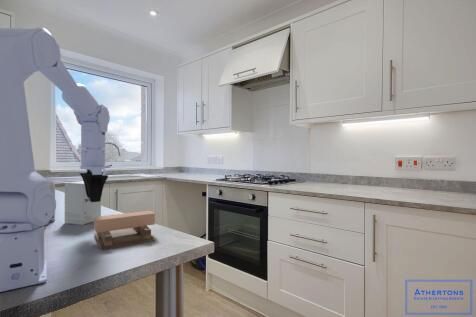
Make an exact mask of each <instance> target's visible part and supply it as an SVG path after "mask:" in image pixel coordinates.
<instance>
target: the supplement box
mask: <svg viewBox="0 0 476 317" xmlns="http://www.w3.org/2000/svg"><path fill="white" fill-rule="evenodd" d="M101 212H102V199H101V200H100V202H91V201H90V198H88V197H87V194H86V190H85V185H84V181H83V180H81V181H72V182H71V181H70V182H65V183H64V224H69V225H70V224H71V225H77V226H78V225H80V226H85V225H86V224H89V223H94V217H98V216H102V214H101Z"/></svg>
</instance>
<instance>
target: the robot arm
mask: <svg viewBox="0 0 476 317" xmlns="http://www.w3.org/2000/svg"><path fill="white" fill-rule="evenodd" d="M61 55H62V54H61V48H60V45H59V44H58V43H57V41H56V39H55V37H54V36H53V35H52V34H51V32H50V31H49V30H48V29H46V28H44V27H36V28H21V27H19V28H16V27H14V28H11V27H8V28H7V27H5V28H4V27H3V28H2V27H0V293H2V292H7V291H10V290H16V289H19V288H25V287H29V286H33V285H39V284H42V283H45V282H47V281H48V280H47V276H48V261H47V260H45V225H48V224H49V223H50V222H49V221H50V219H51V218H52V217H53V215H54V213H55V214H56V209H57V201H56V196H55V197H54V195H53V193H52V192H51V189H50V183H51V182H50V181H49V180H48V179H47V178H45V177H44V176H43V175H42V174H40V173H39V172H37V171H36V169H35V168H36V167H35V161H34V153H33V146H32V138H31V137H32V136H31V130H30V128H31V127H30V123H29V113H28V106H27V105H28V104H27V98H26V91H25V84H24V83H25V81H26V80H28V78H30V77H31V76H32V75H33V74H35V73H37V72H40V73H41V74H42V75H44V77H46V79H48V80H49V81H50V82H51V83H52V84H53V85H54V86H55V87H56V88H58V89H59V90H60V91H61V92H62V93H61V98H62V101H63V102H65V104H67V106H69V107H70V109H71V110H72V111H73V114H74V116H75V120H76V121H77V123H78V124H79V125H80V127H81V128H80V137H81V138H80V140H81V141H80V146H81V147H80V156H81V158H80V165H79V166H80V168H79V169H81V170H86V172H80V173H79V175H80V177H81V179H82V181H84V185H85V190H86V194H87V197H88V198H90V201H91V202H100V200H101V201H102V196H103V190H104V187H105V184H106V181H107V180H108V178H109V175H108V174H104V172H103V171H102V170H105V169H110V168H111V165H110V164H106V133H108V131H109V130H108V126H109V123H110V119H111V116H110V111H109V108H108V107H106V105H104V104H101V103H100V104H99V102H98V101H97V100H96V99H95V97H94V95H92V93H91V92H90V91H89V90H88V88H87V87H86V86H85V85H84V84H81V83H77V82H76V80H75V79H74V77H73V76H72V75H71V73H70V72H69V70H68V68H67V67H66V66H65V64H64V63H63V61H62V60H61V58H62V56H61ZM48 222H49V223H48Z"/></svg>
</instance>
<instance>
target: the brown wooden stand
mask: <svg viewBox="0 0 476 317" xmlns="http://www.w3.org/2000/svg"><path fill="white" fill-rule="evenodd" d="M93 234H94V235H93V236H94V238H95V240H96V242H97V244H98V246H99V249H100V251H103V250H104V251H105V250H110V249H115V248H121V247H126V246H132V245H138V244H143V243H148V242H153V241H155V237H154V236H153V235H152V229H151V228H150V227H149V225H148V226H141V227H134V228H127V229H120V230H113V231H107V232H100V233H96V232H94V233H93Z"/></svg>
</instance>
